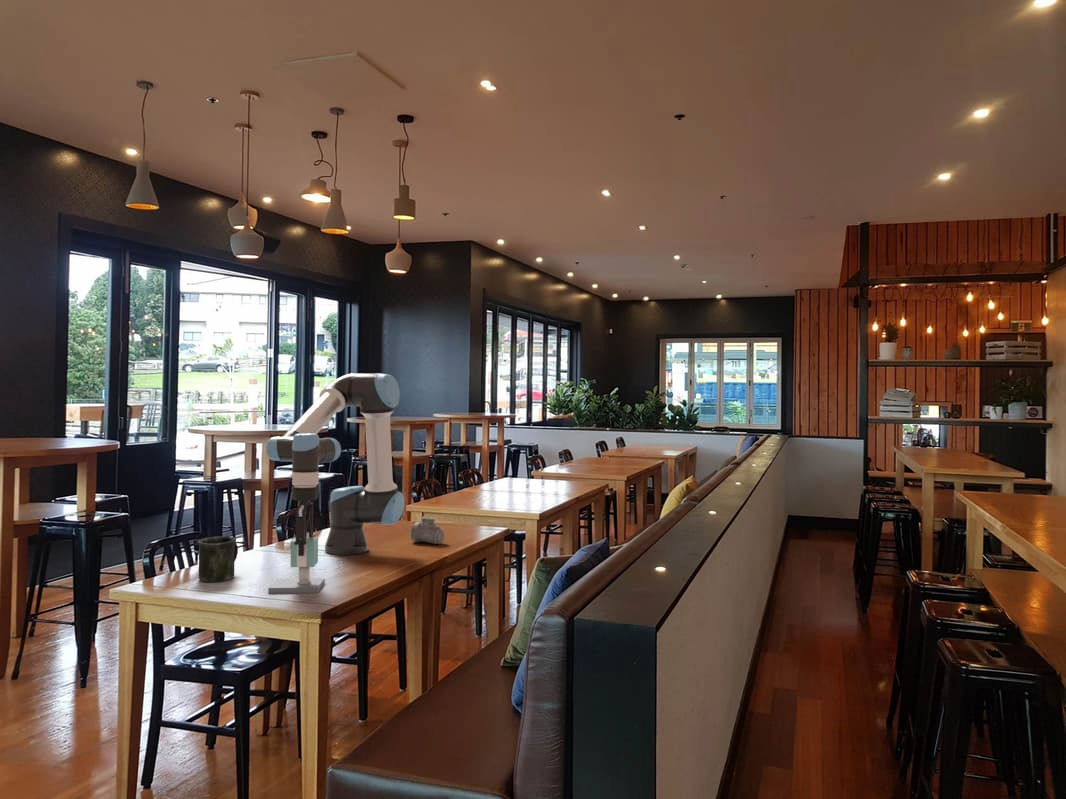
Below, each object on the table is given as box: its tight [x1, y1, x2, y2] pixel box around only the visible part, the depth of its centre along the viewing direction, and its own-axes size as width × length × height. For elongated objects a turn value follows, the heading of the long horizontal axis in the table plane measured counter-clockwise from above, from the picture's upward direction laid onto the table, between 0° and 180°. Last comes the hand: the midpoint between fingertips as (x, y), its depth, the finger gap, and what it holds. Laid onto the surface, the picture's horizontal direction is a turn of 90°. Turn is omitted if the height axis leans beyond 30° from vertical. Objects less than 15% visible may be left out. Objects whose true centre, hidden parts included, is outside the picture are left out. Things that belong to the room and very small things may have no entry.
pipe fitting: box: [410, 516, 445, 545], centre depth 295 cm, size 12×8×10 cm, turn 62°
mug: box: [197, 536, 239, 583], centre depth 238 cm, size 11×15×12 cm
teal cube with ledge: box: [290, 532, 319, 568], centre depth 228 cm, size 7×7×9 cm
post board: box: [267, 567, 326, 594], centre depth 228 cm, size 11×14×6 cm
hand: (304, 563), depth 228 cm, fingers closed on teal cube with ledge, 7 cm apart
